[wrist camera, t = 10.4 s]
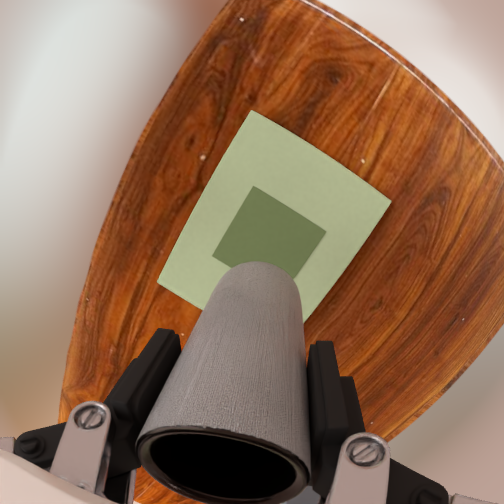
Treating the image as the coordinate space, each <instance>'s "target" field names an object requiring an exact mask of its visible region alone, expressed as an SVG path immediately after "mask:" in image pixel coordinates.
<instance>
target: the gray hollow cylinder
mask: <svg viewBox="0 0 504 504" xmlns="http://www.w3.org/2000/svg"><path fill="white" fill-rule="evenodd" d="M135 449H136V454H137V457H138V460H139V461H140V463H141V465H142V466H143V468H144V469H145V470H146V471H147V472H148V473H149V474H150V475H151V476H152V477H153V478H154V479H155V480H157V481H158V482H159V483H161V484H162V485H164V486H165V487H167V488H169V489H170V490H172V491H174V492H176V493H178V494H180V495H183V496H185V497H187V498H190V499H193V500H196V501H199V502H202V503H206V504H281V503H284V502H286V501H289V500H291V499H293V498H295V497H296V496H298V495H299V494H300V493H302V492H303V491H304V490H305V489H306V487H307V486H308V484H309V482H310V479H311V445H310V420H309V400H308V382H307V367H306V353H305V340H304V327H303V315H302V304H301V298H300V293H299V290H298V287H297V285H296V283H295V282H294V280H293V279H292V278H291V276H290V275H289V274H288V273H286V272H285V271H284V270H283V269H281V268H279V267H277V266H275V265H273V264H270V263H266V262H259V261H253V262H246V263H242V264H239V265H237V266H235V267H233V268H231V269H230V270H228V271H227V272H226V273H225V274H224V275H223V276H222V278H221V279H220V280H219V282H218V283H217V285H216V287H215V289H214V291H213V292H212V294H211V296H210V298H209V300H208V302H207V304H206V306H205V308H204V309H203V311H202V313H201V315H200V317H199V319H198V321H197V323H196V325H195V327H194V329H193V330H192V332H191V334H190V336H189V338H188V340H187V342H186V344H185V346H184V348H183V350H182V352H181V354H180V355H179V357H178V359H177V361H176V363H175V365H174V367H173V369H172V371H171V373H170V375H169V377H168V379H167V381H166V383H165V385H164V387H163V389H162V391H161V392H160V394H159V396H158V398H157V400H156V402H155V404H154V406H153V408H152V410H151V412H150V414H149V416H148V418H147V420H146V422H145V424H144V426H143V428H142V430H141V432H140V434H139V437H138V439H137V441H136V447H135Z"/></svg>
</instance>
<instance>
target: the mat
mask: <svg viewBox="0 0 504 504" xmlns="http://www.w3.org/2000/svg"><path fill="white" fill-rule="evenodd" d="M390 203H391V200H389V199H388V198H387V197H385V196H384V195H383V194H381V193H380V192H379V191H377V190H376V189H375V188H373V187H372V186H371V185H369V184H368V183H367V182H365V181H364V180H363V179H361V178H360V177H358V176H357V175H356V174H354V173H353V172H351V171H350V170H348V169H347V168H346V167H344V166H343V165H341V164H340V163H338V162H337V161H335V160H334V159H332V158H331V157H329V156H328V155H326V154H325V153H323V152H322V151H320V150H319V149H317V148H316V147H314V146H312V145H311V144H309V143H308V142H306V141H305V140H303V139H301V138H300V137H298V136H296V135H295V134H293V133H291V132H290V131H288V130H286V129H285V128H283V127H281V126H280V125H278V124H276V123H274V122H273V121H271V120H269V119H267V118H266V117H264V116H262V115H260V114H259V113H257V112H255V111H253V110H251V111H250V113H249V115H248V116H247V118H246V119H245V121H244V123H243V124H242V126H241V128H240V129H239V131H238V133H237V134H236V136H235V137H234V139H233V141H232V142H231V144H230V146H229V148H228V149H227V151H226V153H225V154H224V156H223V158H222V159H221V161H220V163H219V165H218V166H217V168H216V170H215V172H214V173H213V175H212V177H211V179H210V180H209V182H208V184H207V186H206V188H205V189H204V191H203V193H202V195H201V197H200V199H199V200H198V202H197V204H196V206H195V208H194V210H193V211H192V213H191V215H190V217H189V219H188V221H187V223H186V225H185V227H184V229H183V230H182V232H181V234H180V236H179V238H178V240H177V242H176V244H175V246H174V248H173V250H172V252H171V254H170V256H169V258H168V260H167V262H166V264H165V266H164V268H163V270H162V272H161V274H160V276H159V279H158V281H157V283H159V284H161V285H162V286H164V287H165V288H167V289H169V290H170V291H172V292H173V293H175V294H177V295H178V296H180V297H181V298H183V299H185V300H186V301H188V302H190V303H191V304H193V305H195V306H196V307H198V308H200V309H201V310H203V309H204V308H205V306H206V304H207V302H208V300H209V298H210V296H211V294H212V292H213V291H214V289H215V287H216V285H217V283H218V282H219V280H220V279H221V278H222V276H223V275H224V274H225V273H226V272H227V271H228V270H230V269H231V268H233V267H235V266H237V265H239V264H242V263H246V262H253V261H259V262H266V263H270V264H273V265H275V266H277V267H279V268H281V269H283V270H284V271H285V272H286V273H288V274H289V275H290V276H291V278H292V279H293V280H294V282H295V283H296V285H297V287H298V290H299V293H300V298H301V304H302V315H303V324H304V322H305V321H306V320H307V319H308V317H309V316H310V315H311V314H312V312H313V311H314V310H315V308H316V307H317V306H318V305H319V303H320V302H321V301H322V299H323V298H324V297H325V296H326V294H327V293H328V292H329V290H330V289H331V288H332V286H333V285H334V284H335V282H336V281H337V280H338V278H339V277H340V276H341V274H342V273H343V272H344V270H345V269H346V267H347V266H348V265H349V263H350V262H351V260H352V259H353V258H354V256H355V255H356V253H357V252H358V251H359V249H360V248H361V246H362V245H363V244H364V242H365V241H366V239H367V238H368V236H369V235H370V233H371V232H372V230H373V229H374V228H375V226H376V225H377V223H378V222H379V220H380V219H381V217H382V216H383V214H384V213H385V211H386V209H387V208H388V206H389V205H390Z"/></svg>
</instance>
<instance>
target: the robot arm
mask: <svg viewBox="0 0 504 504" xmlns="http://www.w3.org/2000/svg"><path fill="white" fill-rule="evenodd" d="M180 354H181V345H180V338H179V335H178V334H175V332H174V330H170V329H162V328H158V329H157V331H156V332H155V333H154V335H153V336H152V338H151V339H150V341H149V342H148V343H147V345H146V346H145V348H144V349H143V351H142V352H141V353H140V355H139V356H138V358H135V359H133V361H132V362H131V363H130V365H129V366H128V367H127V369H126V370H125V372H124V373H123V375H122V376H121V377H120V379H119V380H118V382H117V383H116V385H115V386H114V388H113V389H112V391H111V392H110V394H109V395H108V396H107V398H106V399H105V401H104V402H103V403H101V402H97V401H87V402H83V403H81V404H79V405H77V406H76V407H75V408H74V409H73V410H72V412H71V413H70V416H69V418H68V421H67V422H64V423H61V424H57V425H53V426H49V427H45V428H40V429H36V430H32V431H28V432H25V433H23V434H21V435H20V436H19V437H18V438H17V440H16V439H15V438H14V437H4V438H0V504H133V499H134V489H135V480H136V471H137V470H136V469H137V468H140V467H141V463H140V461H139V460H138V457H137V454H136V449H135V447H136V441H137V439H138V437H139V434H140V432H141V430H142V428H143V426H144V424H145V422H146V420H147V418H148V416H149V414H150V412H151V410H152V408H153V406H154V404H155V402H156V400H157V398H158V396H159V394H160V392H161V391H162V389H163V387H164V385H165V383H166V381H167V379H168V377H169V375H170V373H171V371H172V369H173V367H174V365H175V363H176V361H177V359H178V357H179V355H180ZM307 382H308V400H309V420H310V445H311V479H310V482H309V484H308V486H312V489H313V491H315V492H316V493H317V494H319V495H320V496H319V500H318V503H317V504H497V503H492V502H487V501H482V500H478V499H474V498H470V497H467V496H463V495H459V494H455V495H454V496H451V495H448V492H447V491H446V489H445V488H444V487H443V486H442V485H440V484H439V483H437V482H435V481H433V480H431V479H429V478H426V477H425V476H423V475H420V474H419V473H417V472H415V471H413V470H411V469H409V468H407V467H406V466H404V465H402V464H400V463H398V462H396V461H395V460H393V459H391V458H390V447H389V445H388V444H387V442H386V441H385V440H384V439H383V438H382V437H380V436H378V435H376V434H373V433H368V432H366V431H365V427H364V422H363V418H362V413H361V409H360V404H359V400H358V396H357V392H356V388H355V383H354V380H353V377H352V376H342V377H340V375H339V370H338V365H337V360H336V355H335V351H334V346H333V342H332V341H316V345H314V344H311V345H310V350H309V357H308V363H307Z"/></svg>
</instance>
